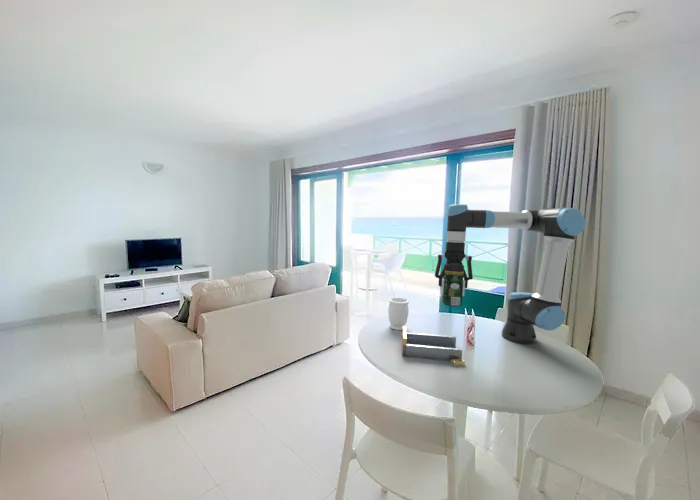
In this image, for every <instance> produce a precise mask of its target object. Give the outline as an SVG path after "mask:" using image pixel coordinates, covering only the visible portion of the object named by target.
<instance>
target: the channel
mask: <svg viewBox="0 0 700 500" xmlns="http://www.w3.org/2000/svg"><path fill="white" fill-rule="evenodd" d="M401 331H402V335H401V349H402V350H401V352H402V353H401V356H402V357H406V358H415V359H426V360H436V361H437V360H438V361H448V362H449V361H451V360H452V359H459V358H461V359H463V349H462V348H457V346H456V345H457V336H455V335H454V336H453V335H444V334H443V335H442V334H431V333H430V334H429V333H419V332H418V333H416V332H407V326H406V325H405V326H403V330H401Z"/></svg>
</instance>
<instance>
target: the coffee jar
mask: <svg viewBox="0 0 700 500" xmlns="http://www.w3.org/2000/svg"><path fill="white" fill-rule="evenodd" d="M443 267H445V274H444V276H443V279H444V289H443V295H442V296H441V297H442V301H441V302H442V304H443V305H445V306H448V307H452V308H456V307H462V304H463V296H462V292H463V280H464V277H463V276H464V269H465V266H464V264H463V265H461V264H459V263H457V262H451V263H449V264H446V262H445V263H444V265H443Z"/></svg>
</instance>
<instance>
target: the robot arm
mask: <svg viewBox="0 0 700 500" xmlns="http://www.w3.org/2000/svg"><path fill="white" fill-rule="evenodd" d="M447 210H448V211H447V222H446V223H447V227H446V229H447V230H446V242H445V251H444V253H438V254H437V264H436V266H435V267H436V268H435V272H434V277H435V278H437V279H438V283H437V284H438V287H440V295H443V289H444V279H443V276H444V274H445V267H444V266H443V268H442V269H441V266H442V263H443V259H444V258H445V259H446V261H445V263H446V264H449V263H451V262H457V263H459V264H461V265H464V264H463V261H464V259H465V261H466V267H467V272H466V270H465V268H464V276H463V292H462V297H465V289H467V288H468V284H469V283H468V282H469V281H470V280H473V277H474V276H473V269H472V267H473V266H472V260H473V256H472V255H466V253H465V249H466V248H465V247H466V243H465V241H466V237H467V236H466V234H467V232H466V231H467V228H468V229H469V228H474V229H475V228H476V229H478V228H479V229H490V228H496V229H498V228H500V229H501V228H503V229H505V228H506V229H508V228H509V229H520V230H521V231H528V232H529V231H530V232H537V233H542V234H543V238H544V239H545V246H544V250H543V257H542V261H541V266H540V271H539V276H538V280H537V286H536V291H535V292H534V293H533V292H525V291H524V292H523V291H514V292H513V291H511V292H510V293H509V295H508V300H507V315H506V322H505V324H504V326H503V328H502V330H501V336H502V337H503V338H505V339H506V340H508V341H511V342H515V343H518V344H526V345H528V344H535V343H536V342H537V333H536V330H535V327H534V326H536V327H537V328H539V329H541V330H542V329H543V330H545V331H554V330H558V328H560V327H561V326H562V325H563V324H564V322H565V319H566V313H565V310H564V309H563V308H562V307H561V305H562V300H561V299H560V297H559V295H560V290H561V285H562V281H563V275H564V271H565V267H566V261H567V257H568V253H569V248H570V244H572V243H574V242H575V240H576V236H578V235H580V234H581V233H582V232H583V231H584V230H585V227H586V219H585V217H584V215H583V214H582V212H581V211H580V210H578V209H577V208H573V207H555V208H554V207H552V208H550V207H548V208H540V209H530V210H527V209H525V210H522V211H492V210H489V209H488V210H487V209H469V207H468V204H454V203H453V204H452V203H451V204H450V205H449V206H448V209H447ZM440 270H441V271H440Z"/></svg>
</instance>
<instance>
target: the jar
mask: <svg viewBox="0 0 700 500" xmlns="http://www.w3.org/2000/svg"><path fill="white" fill-rule="evenodd" d="M388 302H389V303H388V304H389V305H388V309H387V311H388V321H389V323H390V325H389V328H390V329H393V330H397V331H402V330H403V326H406V325H407V322H408V317H409V303H410V300H409V299H406V298H404V297H391V298H389V299H388Z"/></svg>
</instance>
